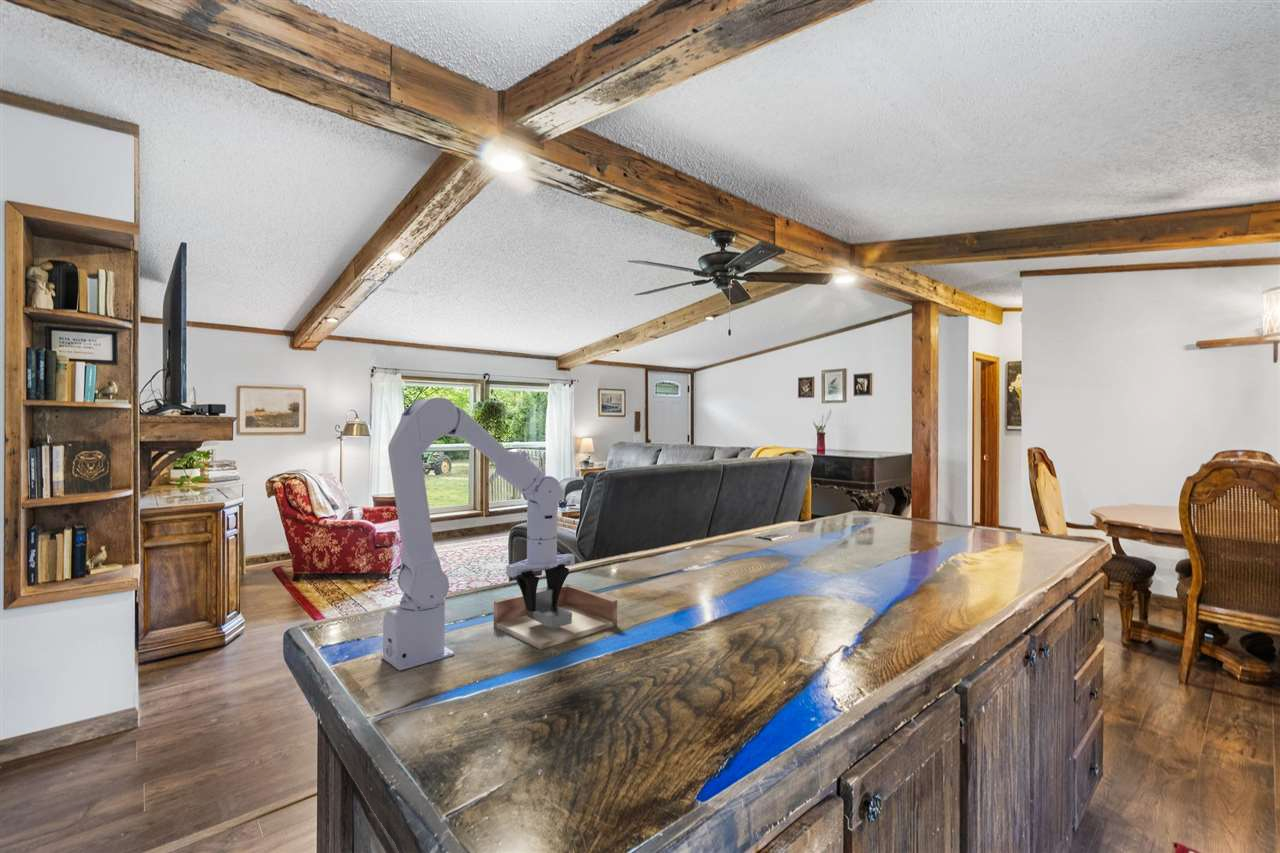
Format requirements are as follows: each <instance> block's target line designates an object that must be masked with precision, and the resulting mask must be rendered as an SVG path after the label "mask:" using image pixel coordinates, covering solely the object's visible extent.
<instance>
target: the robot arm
mask: <svg viewBox="0 0 1280 853" xmlns="http://www.w3.org/2000/svg"><path fill="white" fill-rule="evenodd" d="M444 436H449V437H455V438H460V439H462V440H464V441H465V442H466V443H468V444H469V445H470V446H471V447H473V448H474V449H476V450H477V451H478V452H480V453H481V454H483V455H484V456H485V457H486V458H488V459H489V460H490V461H492V462H493V463H494V465H495V473H496V474H497V475H499V476H500V477H501V478H503V480H505V481H506V482H507V483H508V484H510V485H511V486H512V487H513V488H515V489H516V490H517V491H519V492H520V493H521V494H522V497H523V499H524V501H527V502H526V503H527V508H526V509H527V511H526V512H527V514H526V515H527V516H526V523H527V524H526V528H527V529H526V559H524V560H520V561H516V562H515V563H510V564H506V576H508V577H510V578H514V579H515V581H516V584H517V585H518V587H519V588H520V591H521V595H523V598H524V602H525V606H526V610H528V611H531V612H534V611H535V608H536V590H537V589H538V586H539V581H540V577H539V576H536V575H535V573H536V572H540V571H544V574H545V578H546V585H547V586H546V587H550V588H553V589H554V597H553V604H554V605H556V606H557V603H558V598H559V595H560V591H561V588H562V586H563V585H564V583H565V581H566V579H567V578H568V576H569V574H570V569H569V568H568V567H566V566H574V565H575V556H576V554H573V553H564V554H558V507H559V506H558V505H559V503H560V501H561V500H562V497H563V495H564V489H562V487H561V485H560V483H561V482H559V481H558V479H557V478H555V477H553V476H550V475H546V473H545V472H546V470H545V468H544V467H542V466H538V465H536V464H535V463H534V462H533V461H531V460H530V458H528V455H529V454H528V452H526V451H525V450H518V449H517V448H514V449H513V448H512V449H507V448H506V447H505V446H504V445H502V444H501V443H500V442H499V441H498V440H497V439H496V438H495V437H493V435H492V434H491V433H489V432H488V431H487V430H486V429H485V428H484V427H483V426H481V424H479V423H478V422H477V421H476V420H475V419H474V418H473V417H472V416H471V415H470V414H469V413H468V412H466V411H465V410H464V409H463V408H461V407H459V406H456V405H455V404H454V403H453V401H451V400H449V399H448V398H446V397H440V396H438V397H437V396H436V397H435V396H434V397H432V398H422V399H418V400H416V401H414V402H413V403H411V404H410V406H408V407H407V408H406V409H405V410H404V411H403V412H402V413H401V416H400V420H399V423H398V425H397V426H396V429H395V430H394V433H393V435H392V438H391V439H390V441H389V443H388V446H387V447H388V448H387V450H388V451H387V452H388V457H389V458H388V459H389V464H390V465H389V466H390V471H391V472H390V473H391V478H392V486H393V491H394V492H393V493H394V499H395V505H396V507H395V508H396V512H397V521H398V525H399V526H398V528H399V532H400V533H399V534H400V540H401V542H400V543H401V548H402V551H401V554H400V558H399V559H400V569H399V572H398V575H397V584H398V587H399V589H400V590H401V592H403V595H402V597H401V599H400V601H399V606H397V607H396V608H394V609H390V610H388V611H386V612H384V616H383V621H382V623H383V624H382V654H381V655H380V656H381V658H382V659H383V660H385V661H386V662H387V663H388V664H390V665H392V666H393V667H394V668H395V669H397V670H398V671H403V670H407V669H409V668H413V667H417V666H421V665H424V664H429V663H432V662H435V661H438V660H442V659H447V658H449V657H453V656H454V655H455V652H454V651H453V650H451V649H449V648H448V647H447V646H445V644H446V642H445V638H446V637H445V636H446V635H445V634H446V633H445V630H446V629H445V628H446V626H445V625H446V623H445V622H446V619H445V618H446V610H445V609H446V597H447V595H448V593H449V590H450V581H449V579H448V576H447V575H446V574H445V573H444V571H443V570H442V565H441V560H440V558H439V555H438V553H437V551H436V548H435V542H434V537H433V530H432V523H431V516H430V509H429V503H428V502H429V501H428V495H427V494H428V493H427V488H426V487H427V486H426V480H425V472H424V466H423V459H422V457H423V456H422V455H424V453H426V451H427V450H428V449H429V448H430V447H431V445H432V444H433V443H434V442H435V441H437V440H439V439H440V438H442V437H444ZM534 572H535V573H534Z"/></svg>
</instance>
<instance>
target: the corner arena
mask: <svg viewBox="0 0 1280 853" xmlns="http://www.w3.org/2000/svg"><path fill="white" fill-rule="evenodd" d="M557 606H558V607H560V608H563V609H565V610H567V611H569V612H571V613H572V623H571V624H568V625H564V626H560V627H557V628H553V629H551V628H549V627H547V626H545V625H543V624H541V623H539V622H538V621H536V620H534V619H532V618H530V617H528V616H527V614H528V610H526V606H525V602H524V598H523V595H522V594H519V595H514V596H510V597H506V598H500V599H497V600H493V627H494V628H496V629H498V630H500V631H502V632H504V633H505V634H508V635H510V636H512V637H514V638H516V639H519V640H521V641H522V642H525V643H526V644H529V645H530V646H533V647H535V648H537V649H539V650H544V649H547V648H550V647H554V646H556V645H559V644H562V643H565V642H566V643H567V642H569V641H572V640H576V639H578V638H582V637H584V636H585V637H586V636H589V635H590V634H591V635H593V634H595V633H598V632H601V631H603V630H607V629H610V628H614V627H617V626H618V600H617V599H615V598H611V597H608V596H605V595H602V594H599V593H596V592H594V591H589V590H586V589H584V588H582V587H578V586H575V585H572V584H568V583H566V584H563V586H562V588H561V591H560V595H559V598H558V603H557Z"/></svg>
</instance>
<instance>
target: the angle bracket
mask: <svg viewBox="0 0 1280 853" xmlns="http://www.w3.org/2000/svg"><path fill="white" fill-rule="evenodd" d="M553 597H554V589H553V588H550V587H547V586H542V587H537V590H536V608H535V611H534V612H531V611H528V614H527V616H528V617H530V618H532V619H534V620H536V621H538V622H539V623H541V624H543V625H545V626H547V627H549V628H551V629H553V628H557V627H560V626H564V625H568V624H571V623H572V613H571V612H569V611H567V610H565V609H563V608H560V607H558V606H556V605H554V604H553Z"/></svg>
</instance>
